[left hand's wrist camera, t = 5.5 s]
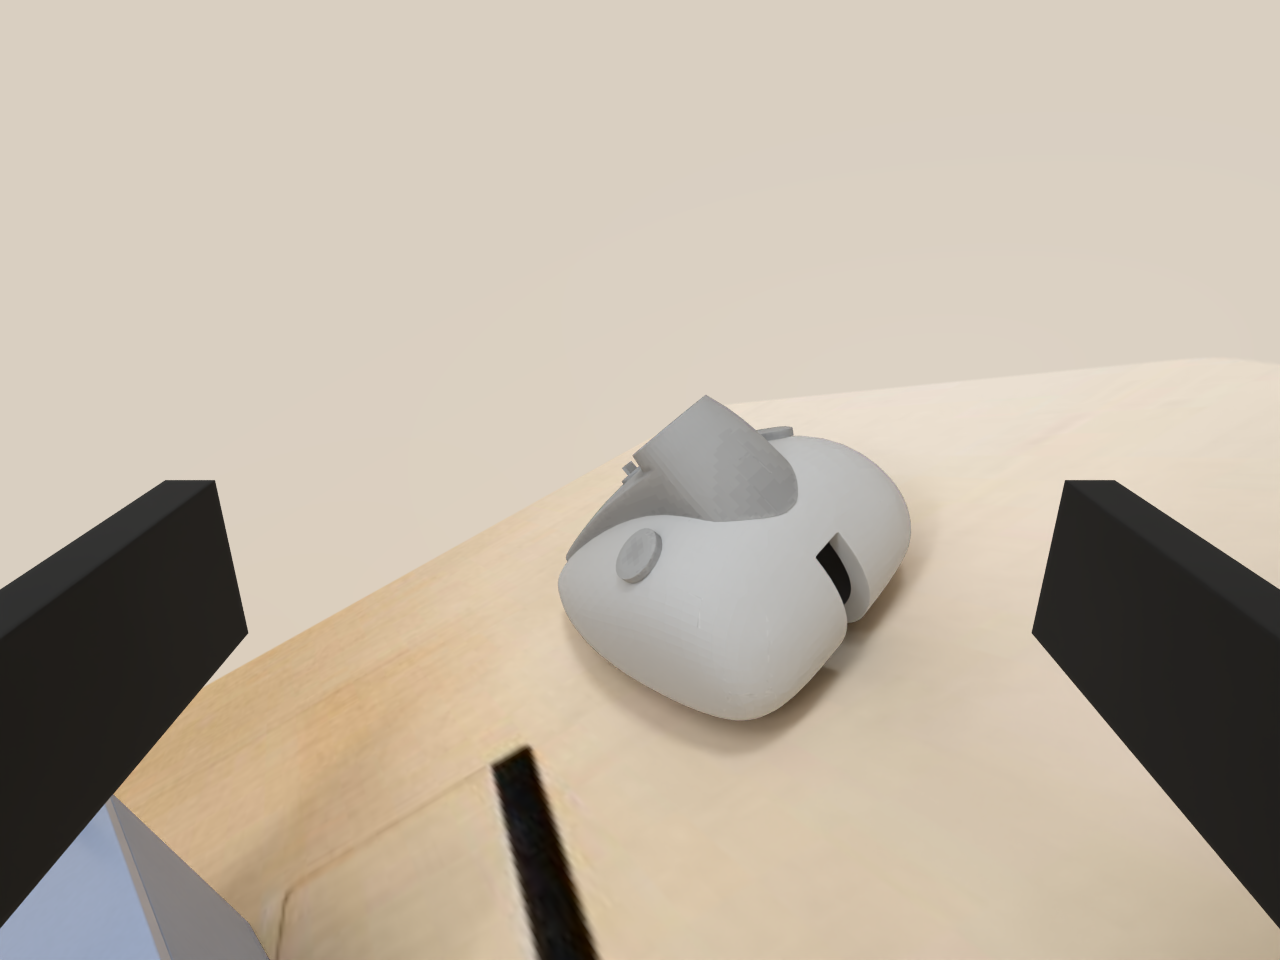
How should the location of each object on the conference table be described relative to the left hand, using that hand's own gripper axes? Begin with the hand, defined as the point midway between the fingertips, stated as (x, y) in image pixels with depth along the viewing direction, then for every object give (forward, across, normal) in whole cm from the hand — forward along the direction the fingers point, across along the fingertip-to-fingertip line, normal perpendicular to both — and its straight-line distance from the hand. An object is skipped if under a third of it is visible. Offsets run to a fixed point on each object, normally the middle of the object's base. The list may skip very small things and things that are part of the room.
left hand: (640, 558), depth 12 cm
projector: (+30, +5, -20) cm, 36 cm away
